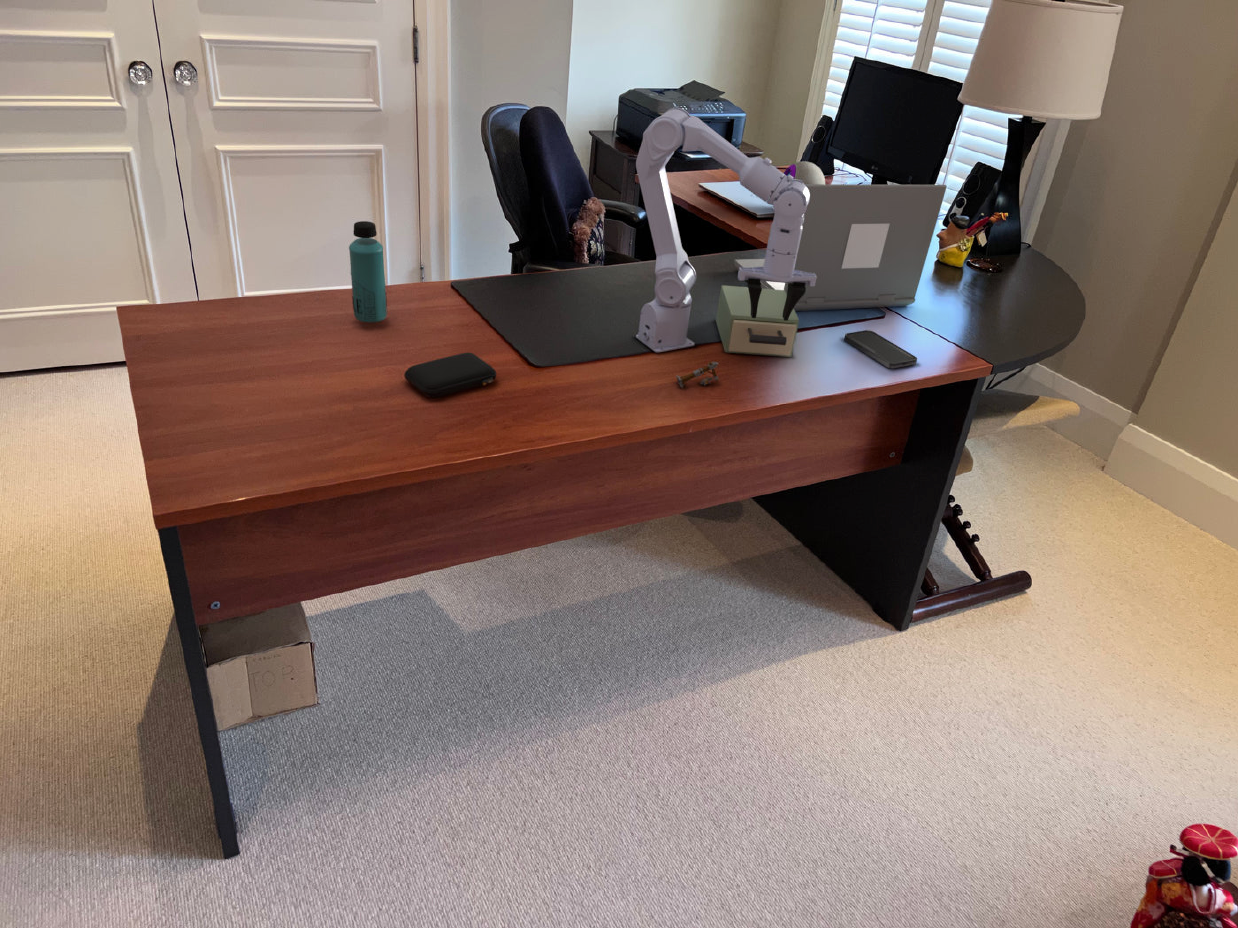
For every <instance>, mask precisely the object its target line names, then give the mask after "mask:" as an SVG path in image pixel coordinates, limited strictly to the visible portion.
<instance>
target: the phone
mask: <svg viewBox="0 0 1238 928" xmlns="http://www.w3.org/2000/svg"><path fill="white" fill-rule="evenodd" d="M843 341H844V342H846V343H848V344H849V345H851V346H852V347H854V348H855V349H856V350H858V351H860V352H862V353H864V354H865V355H866V356H868V357H870V358H871V359H873V360H875V361H876V362H878V363H879V364H881V365H883V366H884V367H886V368H888V369H892V370H893V369H900V368H905V367H911V366H915V365H916V364H917V361H918V357H917V356H915V355H914V354H912V353H911V352H909V351H907V350H905V349H904V348H902V347H900V346H899V345H897V344H895V343H893V342H892V341H890V340H889V339H887V338H885V337H883V336H881V335H880V334H879V333H877V332H875V331H873V330H870V329H864V330H858V331H853V332H846V333H844V337H843Z"/></svg>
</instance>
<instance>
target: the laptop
mask: <svg viewBox="0 0 1238 928" xmlns="http://www.w3.org/2000/svg"><path fill="white" fill-rule="evenodd" d="M805 185H806V186H807V188H808V190H809V193H810V199H809V203H808V205H807V209H806V211H805V213H804V222H803V224H802V227H803V229H802V234H801V239H800V244H799V249H798V253H797V258H796V263H795V268H794V270H798V271H803V272H808V273H815V275H816V277H817V278H816V283H815V286H809V285H805V287H806V292H805V294H804V295H803V296H802V297H801V298H800V300H799V301H798V302H797V304H796V305H795V307H794V308H793V309H794V311H795V312H801V311H802V312H804V311H827V310H845V309H846V310H847V309H866V308H867V309H869V308H889V307H890V308H891V307H892V308H893V307H908V306H910V305H912V304H914V303H915V302H916V295H917V291H918V288H919V285H920V281H921V278H922V274H923V270H924V267H925V264H926V260H927V256H928V253H929V250H930V247H931V243H932V240H933V236H934V232H935V230H936V229H935V228H936V225H937V222H938V218H939V215H940V212H941V208H942V205H943V201H944V197H945V193H946V191H947V188H948V185H947V184H845V183H844V184H839V183H837V184H829V183H827V184H826V183H825V184H805ZM764 261H765V258H748V259H747V258H746V259H745V258H744V259H742V258H741V259H734V261H733V266H734V268H735V269H737V271H739V267H763V266H764ZM760 282H761V288H762V289H774V290H785V292H786V294H787V289H788V283H781V282H768V281H760Z"/></svg>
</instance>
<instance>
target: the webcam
mask: <svg viewBox="0 0 1238 928" xmlns="http://www.w3.org/2000/svg"><path fill="white" fill-rule="evenodd" d="M782 173H783V174H785V175H786V176H787V177H788V175H791V176H792V177H793V179H797V180H801V181H802V182H803V183H804V184H826V179H825V175H824V173H823V171H822V169H821V168H820V167H819V166H817V165H816V164H815V163H813V162H810V161H804V160H803V161H797V162H795V163H792V164H790V165H789V166H787V168H786V169H785V170H784V172H782ZM785 175H784V176H785ZM782 179H783V178H782Z"/></svg>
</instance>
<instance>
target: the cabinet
mask: <svg viewBox="0 0 1238 928" xmlns="http://www.w3.org/2000/svg"><path fill="white" fill-rule="evenodd" d="M719 292H720V293H719V297H718V298H719V299H718V304H717V310H716V316H715V322H716V323H715V324H716V326H717V330H718V333H719V337H720V340H721V344H722V347H723V351H724V353H731V354H744V355H757V356H773V357H783V358H792V355H793V351H794V346H795V342H796V337H797V333H798V327H799V322H800V319H799V317H798V314H797V313H796V311H794V309H793V310H792V312H791V314H790V316H789V318H788V321H784V319H783V317H782V316H783V309H784V306H785V302H786V297H787V294H786V292H785V290H774V289H762V291H761V294H760V298H759V302H758V308H757V315H756V318H752V317H751V302H750V294H749V289H748V286H747V287H746V286H735V285H724V284H723V285H721V287H720V291H719ZM734 319H743V320H756V321H769V322H783V323H790V324H795V325H796V331H795V336H794V340H793V345H792V350H791V354H790V355H777V354H763V353H750V352H736V351H729V343H730V337H731V332H732V326H733V320H734Z"/></svg>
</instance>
